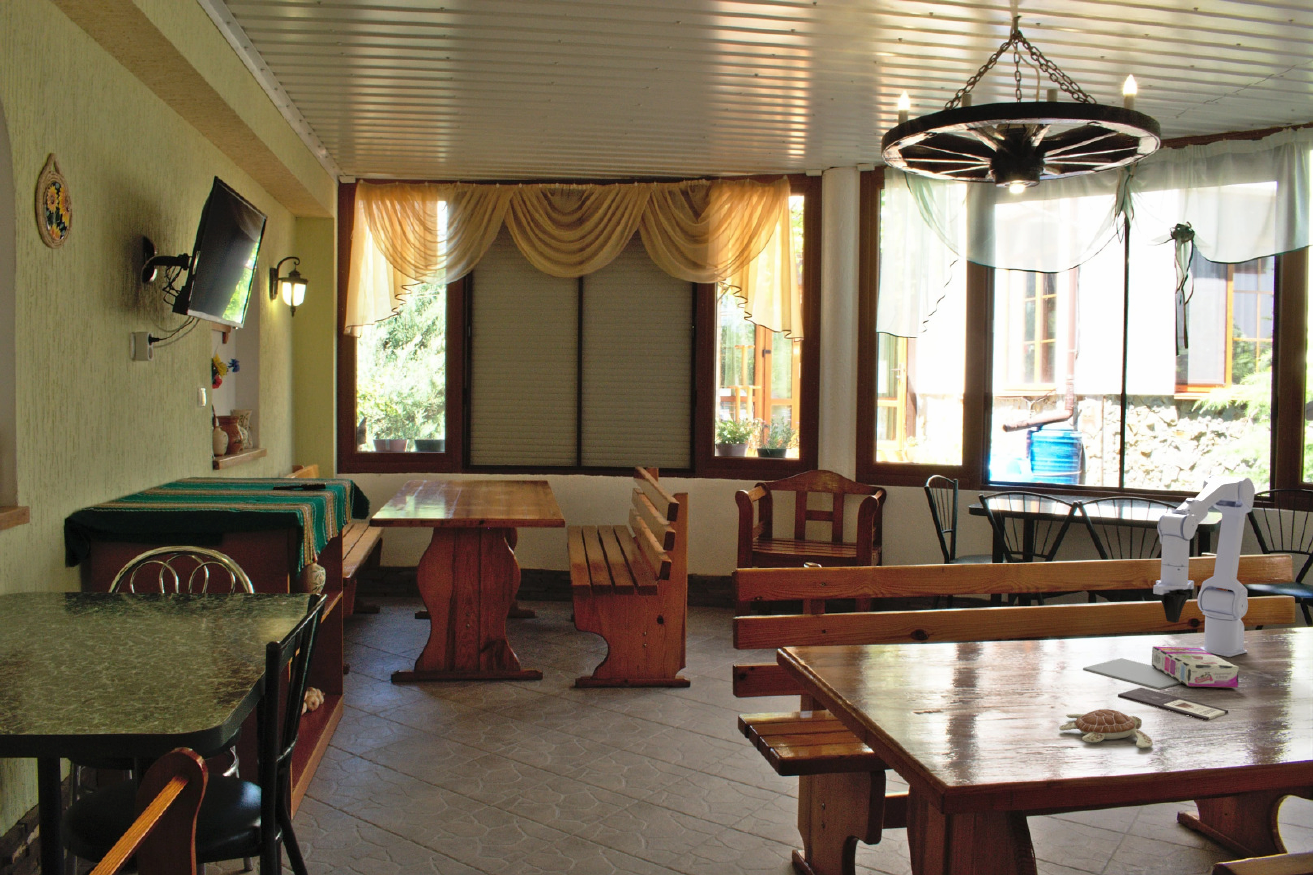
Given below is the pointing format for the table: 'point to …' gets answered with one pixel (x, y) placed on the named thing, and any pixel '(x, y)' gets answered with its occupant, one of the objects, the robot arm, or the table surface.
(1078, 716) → the decorative turtle
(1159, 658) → the candy bar box
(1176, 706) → the chocolate bar
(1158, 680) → the rubber mat
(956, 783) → the table surface
